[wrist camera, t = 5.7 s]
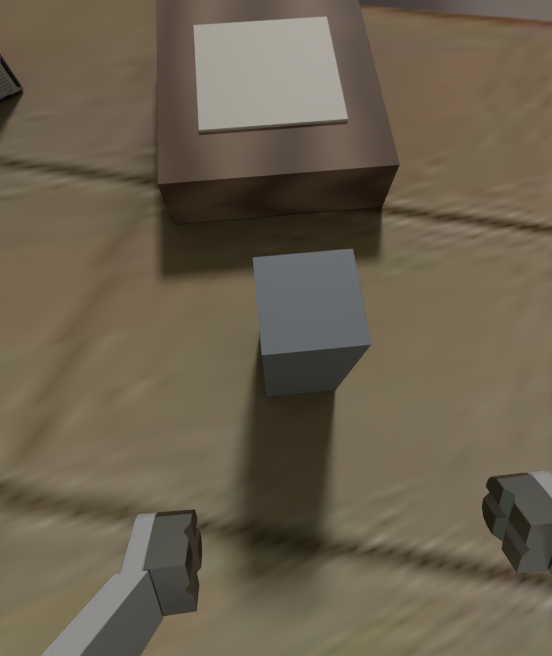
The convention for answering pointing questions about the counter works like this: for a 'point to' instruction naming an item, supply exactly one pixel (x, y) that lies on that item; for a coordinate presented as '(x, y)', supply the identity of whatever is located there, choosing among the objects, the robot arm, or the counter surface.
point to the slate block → (309, 320)
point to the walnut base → (268, 110)
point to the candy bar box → (7, 81)
